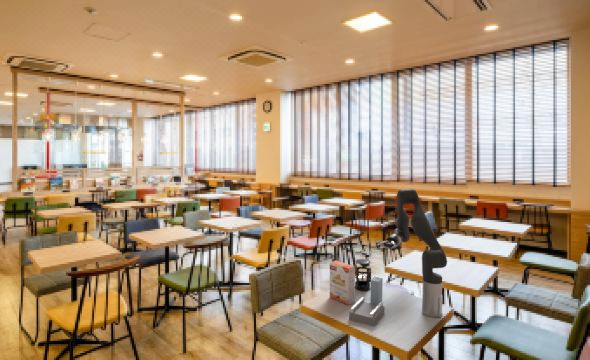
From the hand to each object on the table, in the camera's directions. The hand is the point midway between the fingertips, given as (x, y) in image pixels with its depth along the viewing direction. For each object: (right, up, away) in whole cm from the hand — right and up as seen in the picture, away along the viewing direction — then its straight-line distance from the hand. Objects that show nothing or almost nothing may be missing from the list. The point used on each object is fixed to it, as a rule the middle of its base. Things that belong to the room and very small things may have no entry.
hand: (384, 248), depth 197 cm
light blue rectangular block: (-7, -30, -8) cm, 31 cm away
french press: (-9, -28, +16) cm, 33 cm away
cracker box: (-24, -29, 0) cm, 38 cm away
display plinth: (-14, -31, -20) cm, 39 cm away
